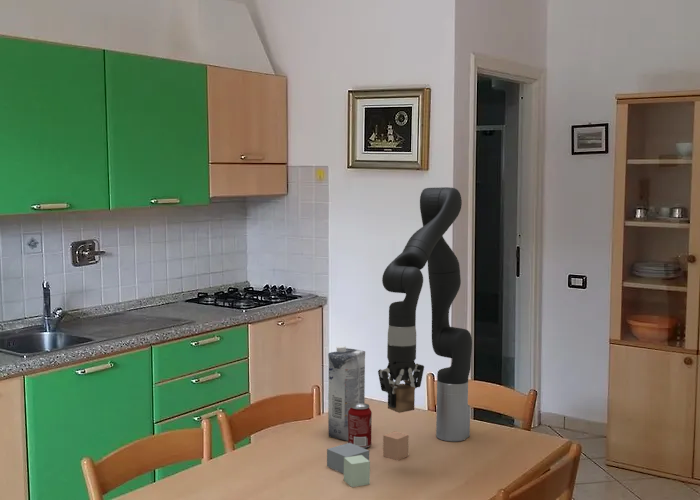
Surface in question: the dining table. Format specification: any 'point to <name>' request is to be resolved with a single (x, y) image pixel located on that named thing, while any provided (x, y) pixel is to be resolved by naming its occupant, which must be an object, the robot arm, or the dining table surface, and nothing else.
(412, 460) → the dining table surface
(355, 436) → the soda can
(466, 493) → the dining table surface
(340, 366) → the juice carton
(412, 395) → the walnut block
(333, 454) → the grey base block
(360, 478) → the pale green block
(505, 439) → the dining table surface
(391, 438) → the tan block
